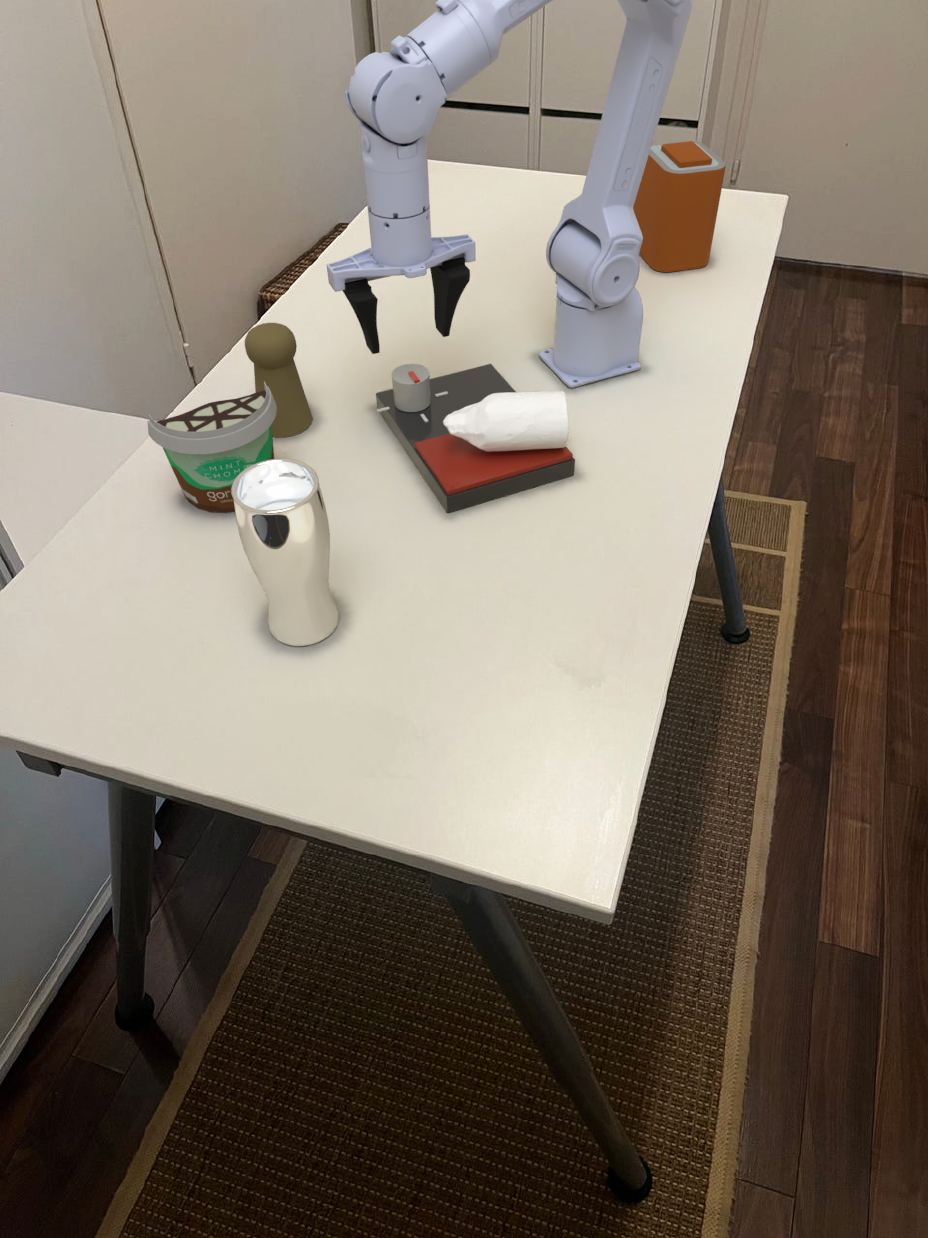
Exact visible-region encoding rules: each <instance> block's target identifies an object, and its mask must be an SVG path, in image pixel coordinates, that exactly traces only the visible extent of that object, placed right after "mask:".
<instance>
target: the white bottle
mask: <svg viewBox="0 0 928 1238" xmlns="http://www.w3.org/2000/svg"><path fill="white" fill-rule="evenodd" d="M567 403H568V402H567V397H566V394H565V392H564V391H563V390H554V391H519V392H518V391H515V392H505V393H493V394H491V395H488V396H487V397H485V398H484V399H483V400H482V401H481V402H479V403H476V404H472V405H469V406H466V407H464V408H462V409H460V410H458V411H454V412H453V413H451V414H449V415H447V416H446V417H445V419H444V420H443V424H444V426H446V427H447V429H448V431H449V433H450V434H451V435H454V436H456V437H459V438H462V439H464V440H466V441H468V442H469V443H470V444H472V445H474V446H476V447H477V448H479V449H481V450H485V451H486V452H492V451H513V450H531V449H551V448H564V447H567V444H568V440H569V431H570V430H569V427H570V426H569V413H568V404H567Z"/></svg>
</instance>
